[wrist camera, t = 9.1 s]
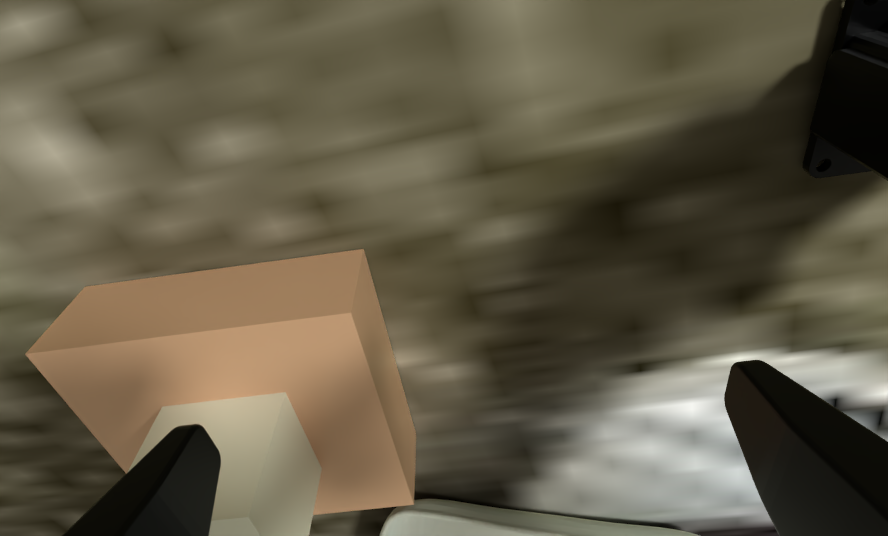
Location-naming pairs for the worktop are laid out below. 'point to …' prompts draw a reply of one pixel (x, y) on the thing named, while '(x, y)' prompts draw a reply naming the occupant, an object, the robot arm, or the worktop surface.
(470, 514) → the salad plate
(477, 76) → the worktop surface
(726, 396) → the robot arm
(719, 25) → the worktop surface
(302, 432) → the block
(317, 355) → the stand
